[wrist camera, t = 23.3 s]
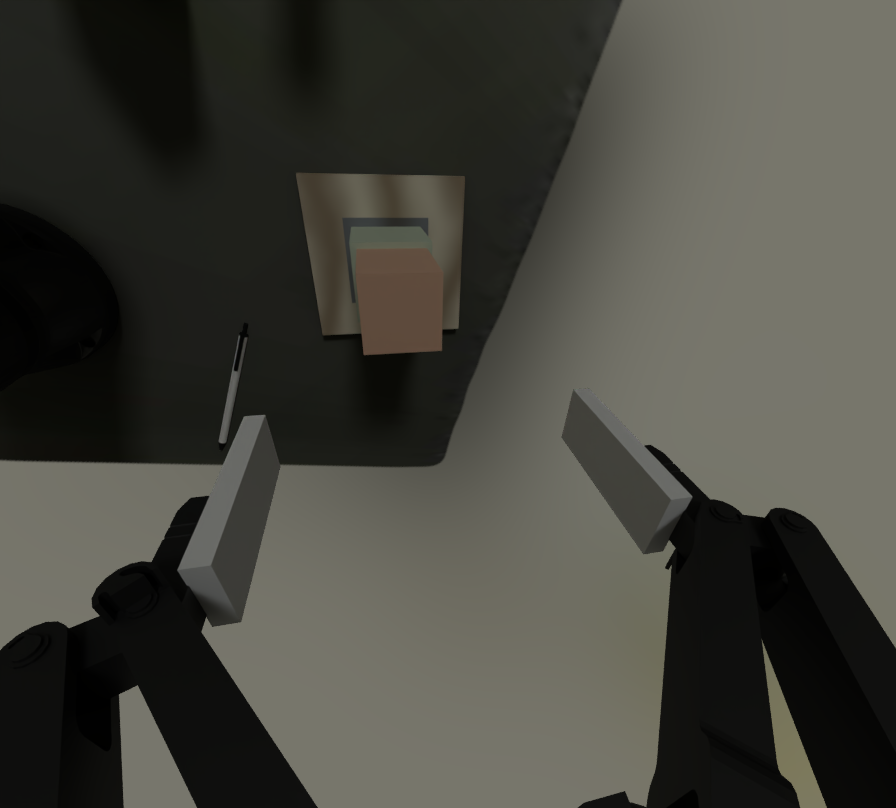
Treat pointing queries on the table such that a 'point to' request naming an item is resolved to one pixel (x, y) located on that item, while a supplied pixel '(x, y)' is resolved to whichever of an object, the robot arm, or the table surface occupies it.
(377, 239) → the sage block
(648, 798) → the robot arm
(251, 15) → the table surface
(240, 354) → the pen
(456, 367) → the table surface
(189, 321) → the table surface
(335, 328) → the beige flat square slab
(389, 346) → the terracotta block
